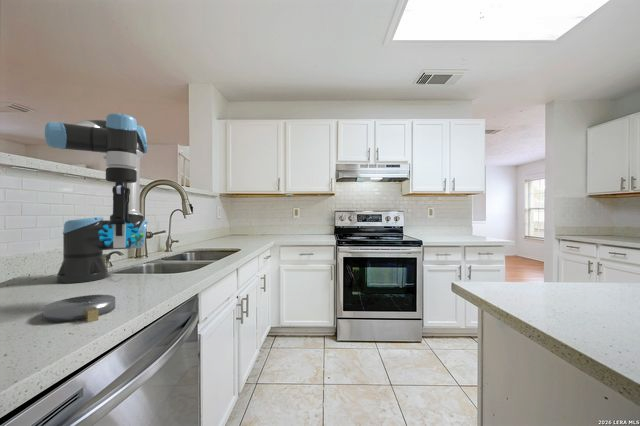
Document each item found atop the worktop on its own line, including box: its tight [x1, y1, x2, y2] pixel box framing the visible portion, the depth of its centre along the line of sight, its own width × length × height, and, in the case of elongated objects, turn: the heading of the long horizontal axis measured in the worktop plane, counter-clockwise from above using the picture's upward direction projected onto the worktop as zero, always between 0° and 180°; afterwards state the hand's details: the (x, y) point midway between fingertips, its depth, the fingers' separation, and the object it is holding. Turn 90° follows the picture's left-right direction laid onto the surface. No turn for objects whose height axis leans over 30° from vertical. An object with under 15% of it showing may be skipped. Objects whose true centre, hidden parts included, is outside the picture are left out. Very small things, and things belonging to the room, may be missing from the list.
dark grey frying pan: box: [42, 294, 116, 324], centre depth 72 cm, size 17×14×2 cm
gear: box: [98, 222, 144, 247], centre depth 86 cm, size 11×6×10 cm
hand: (121, 246), depth 85 cm, fingers closed on gear, 8 cm apart
